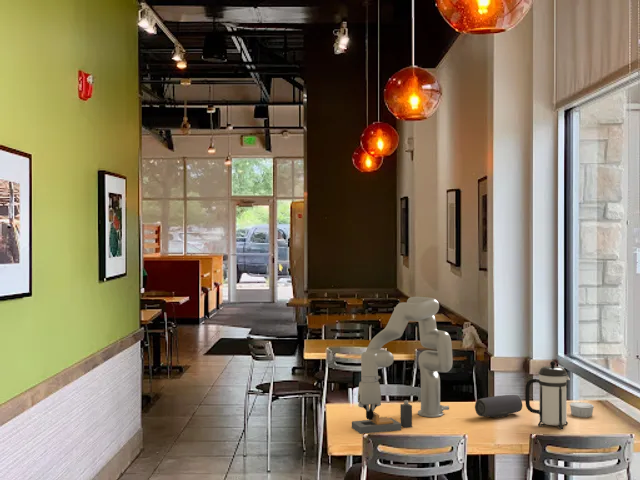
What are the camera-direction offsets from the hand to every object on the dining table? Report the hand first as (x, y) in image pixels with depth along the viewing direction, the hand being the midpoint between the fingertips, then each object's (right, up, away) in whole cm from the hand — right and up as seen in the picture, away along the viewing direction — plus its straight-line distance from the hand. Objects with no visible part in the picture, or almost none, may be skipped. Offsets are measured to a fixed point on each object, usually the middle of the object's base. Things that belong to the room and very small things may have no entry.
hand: (369, 419), depth 327 cm
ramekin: (+106, -5, +26) cm, 110 cm away
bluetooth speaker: (+65, -5, +24) cm, 69 cm away
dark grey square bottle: (+17, -5, +6) cm, 19 cm away
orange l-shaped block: (+6, -2, +2) cm, 6 cm away
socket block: (+3, -5, +1) cm, 6 cm away
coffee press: (+84, -5, +6) cm, 85 cm away
